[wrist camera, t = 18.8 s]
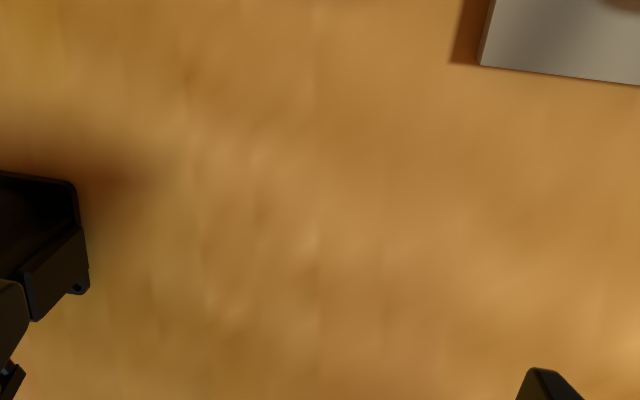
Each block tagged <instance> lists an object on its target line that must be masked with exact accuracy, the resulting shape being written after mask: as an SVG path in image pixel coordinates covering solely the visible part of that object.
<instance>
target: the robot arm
mask: <svg viewBox="0 0 640 400" xmlns="http://www.w3.org/2000/svg"><path fill="white" fill-rule="evenodd" d="M61 189H62V190H64V191H65V192H66V194H67V195H66V194H64V193H63V192H62V190H61ZM88 269H89V264H88V257H87V251H86V244H85V237H84V230H83V227H82V226H81V219H80V212H79V206H78V199H77V192H76V189H75V187H74V186H73V185H72V184H71V183H70V182H68V181H64V180H58V179H51V178H44V177H38V176H31V175H24V174H18V173H11V172H4V171H0V400H13V398H14V396H15V394H16V392H17V390H18V389H19V387H20V385H21V383H22V381H23V379H24V377H25V376H26V373H25V371H24V370H23V369H22V368H21V367H20V366H19V365H18V364H14V362H13V361H12V360H11V359H10V357H11V355H12V353H13V352H14V350H15V349H16V347H17V345H18V344H19V342H20V340H21V339H22V337H23V335H24V334H25V332H26V330H27V328H28V325H29V322H30V321H31V322H38V321H39V320H41V319H42V318H43V317H44V316H45V315H46V314H47V313H48V312H49V311H50V310H51V309H52V307H53V306H54V305H55V304H56V303H57V302H58V301H59V300H60V299H61V298H62V297H63V296H64V295H65V294H66V293H69V294H75V295H83V294H85V292H86V291H87V290H88V289H89V288H90V280H89V273H88ZM78 284H79V285H80V286H79V285H78ZM515 400H585V399H584V398H583V397H582V396H581V395H580V394H579V393H578V392H577V391H576V390H575V389H574V388H573V387H572V386H571V385H570V384H569V383H568V382H567V381H566V380H565V379H564V378H563V377H562V376H561V375H560V374H559V373H558V372H556V371H554V370H549V369H543V368H537V367H533V368H530V369H529V370H528V371H527V373H526V375H525V378H524V380H523V383H522V385H521V387H520V390H519V392H518V394H517V397H516V399H515Z"/></svg>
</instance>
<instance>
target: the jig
mask: <svg viewBox="0 0 640 400" xmlns="http://www.w3.org/2000/svg"><path fill="white" fill-rule="evenodd" d="M476 61H477V62H478V63H479V64H480V65H484V66H492V67H500V68H507V69H515V70H523V71H531V72H539V73H546V74H554V75H562V76H570V77H578V78H586V79H593V80H601V81H609V82H617V83H625V84H632V85H640V0H490V3H489V7H488V11H487V15H486V19H485V23H484V27H483V31H482V36H481V40H480V44H479V48H478V52H477V56H476Z"/></svg>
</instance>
